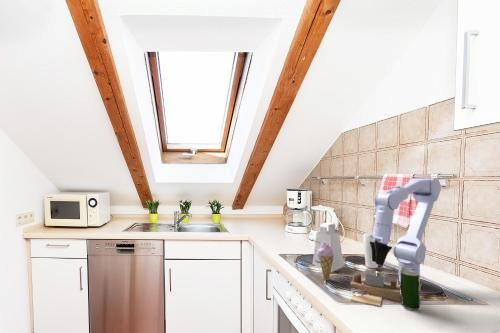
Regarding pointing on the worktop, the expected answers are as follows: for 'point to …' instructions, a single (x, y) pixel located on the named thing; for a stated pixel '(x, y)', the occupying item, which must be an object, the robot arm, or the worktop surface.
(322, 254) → the ice cream cone
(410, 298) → the beer can
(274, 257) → the worktop surface
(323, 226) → the grater
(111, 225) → the worktop surface
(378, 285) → the grey block with knob
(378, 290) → the body
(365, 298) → the cork trivet
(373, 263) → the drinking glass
